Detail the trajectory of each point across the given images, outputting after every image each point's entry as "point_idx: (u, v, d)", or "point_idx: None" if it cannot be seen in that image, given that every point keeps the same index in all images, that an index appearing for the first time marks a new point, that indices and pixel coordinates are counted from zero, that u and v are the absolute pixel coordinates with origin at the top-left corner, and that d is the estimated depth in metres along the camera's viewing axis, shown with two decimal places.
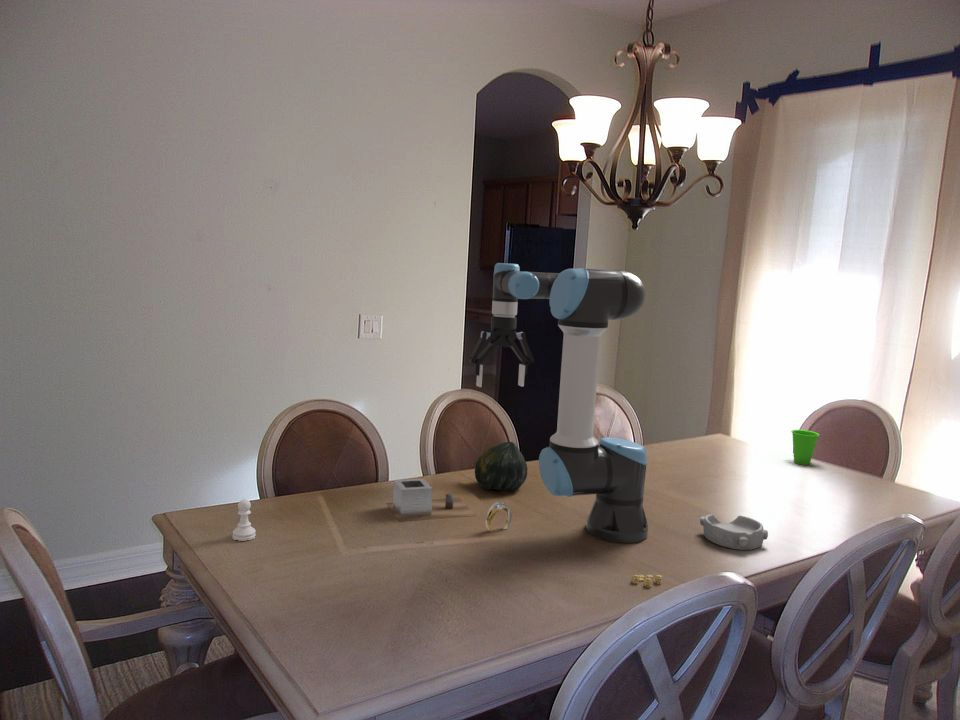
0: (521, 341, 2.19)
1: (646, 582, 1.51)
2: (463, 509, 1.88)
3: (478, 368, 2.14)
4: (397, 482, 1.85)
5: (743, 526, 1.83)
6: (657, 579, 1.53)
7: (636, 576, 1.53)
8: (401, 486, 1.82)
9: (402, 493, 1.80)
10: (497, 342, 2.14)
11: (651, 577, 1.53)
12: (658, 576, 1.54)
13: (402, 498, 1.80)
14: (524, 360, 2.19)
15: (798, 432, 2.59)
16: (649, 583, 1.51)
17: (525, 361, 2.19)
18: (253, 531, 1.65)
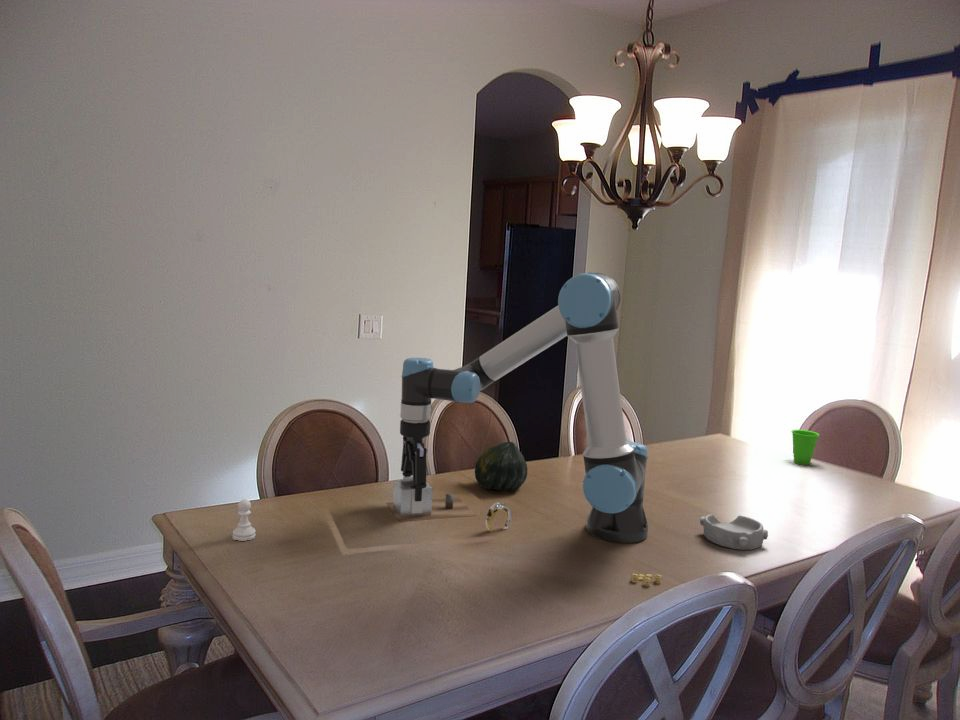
0: None
1: (645, 581, 1.52)
2: (463, 509, 1.88)
3: None
4: (397, 482, 1.85)
5: (743, 526, 1.83)
6: (656, 579, 1.53)
7: (635, 575, 1.53)
8: (401, 486, 1.82)
9: (402, 493, 1.80)
10: (405, 449, 1.84)
11: (650, 576, 1.54)
12: (658, 576, 1.54)
13: (402, 498, 1.80)
14: (413, 481, 1.79)
15: (798, 432, 2.59)
16: (648, 582, 1.52)
17: (413, 483, 1.79)
18: (253, 531, 1.65)
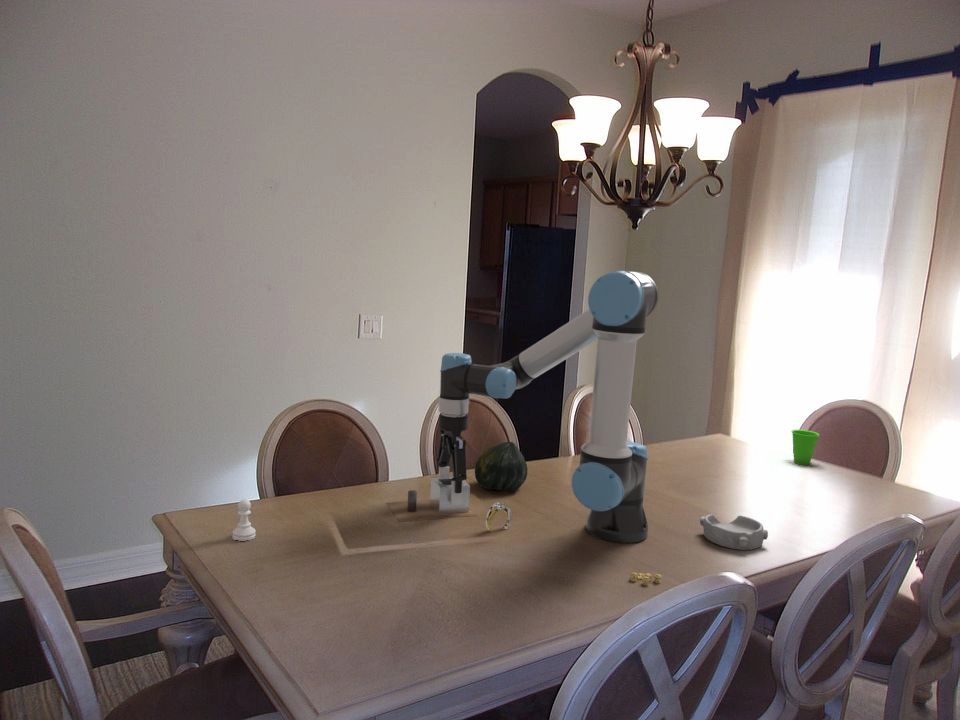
0: None
1: (643, 580, 1.52)
2: None
3: None
4: (435, 480, 1.88)
5: (743, 526, 1.83)
6: (656, 578, 1.54)
7: (634, 574, 1.54)
8: (439, 483, 1.86)
9: (441, 491, 1.83)
10: (443, 442, 1.88)
11: (650, 576, 1.54)
12: (657, 575, 1.54)
13: (441, 495, 1.83)
14: (453, 474, 1.82)
15: (798, 432, 2.59)
16: (646, 581, 1.52)
17: (453, 475, 1.81)
18: (253, 531, 1.65)
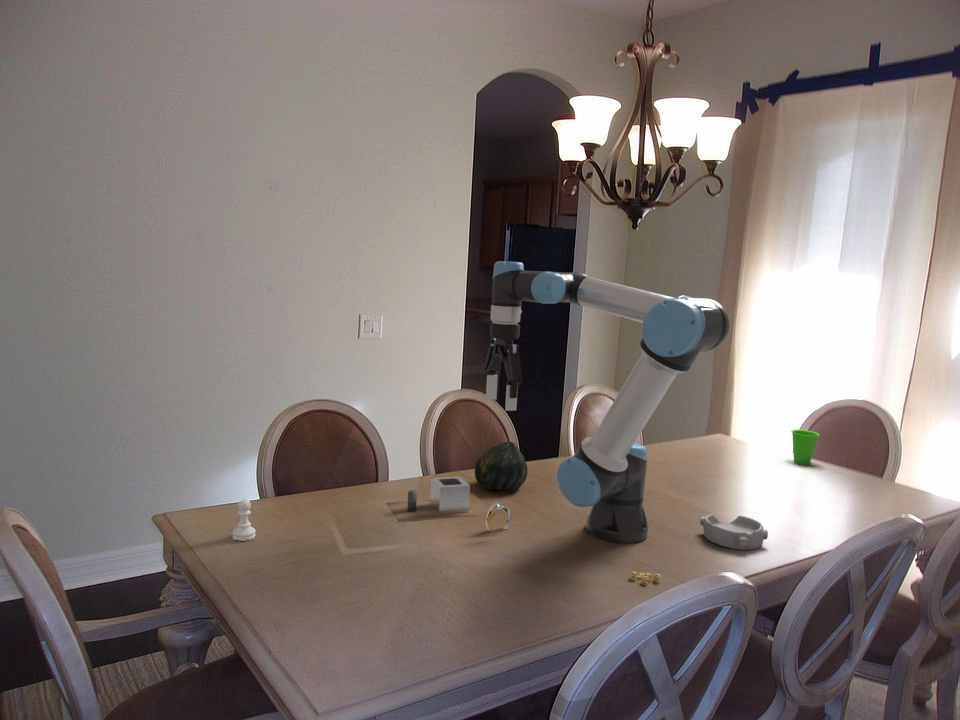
0: None
1: (642, 579, 1.53)
2: None
3: None
4: (435, 480, 1.88)
5: (743, 526, 1.83)
6: (655, 578, 1.54)
7: (633, 573, 1.54)
8: (439, 483, 1.86)
9: (441, 491, 1.83)
10: (494, 352, 1.87)
11: (649, 575, 1.54)
12: (657, 575, 1.54)
13: (441, 495, 1.83)
14: (508, 378, 1.79)
15: (798, 432, 2.59)
16: (645, 581, 1.52)
17: (508, 380, 1.79)
18: (253, 531, 1.65)
